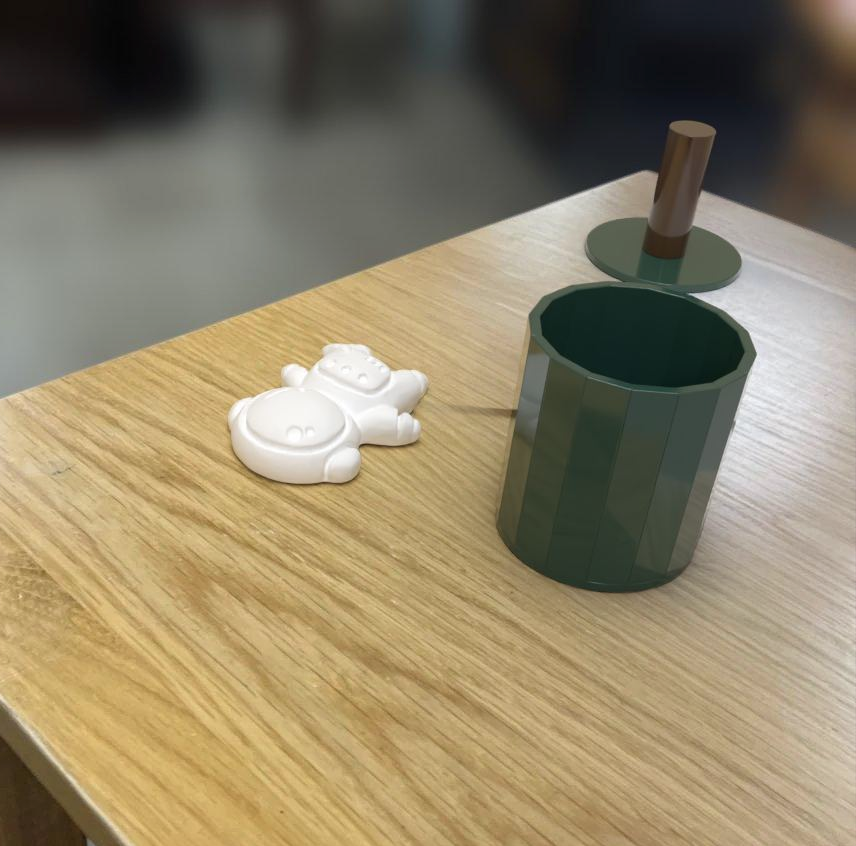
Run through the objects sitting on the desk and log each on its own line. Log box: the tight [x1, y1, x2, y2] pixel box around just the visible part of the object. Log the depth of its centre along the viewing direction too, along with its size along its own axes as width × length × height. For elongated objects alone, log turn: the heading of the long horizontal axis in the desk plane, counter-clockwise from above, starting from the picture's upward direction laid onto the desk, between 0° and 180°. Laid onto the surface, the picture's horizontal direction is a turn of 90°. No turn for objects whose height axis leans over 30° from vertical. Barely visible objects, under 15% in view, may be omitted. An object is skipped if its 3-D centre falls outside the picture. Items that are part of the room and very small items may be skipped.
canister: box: [495, 280, 758, 593], centre depth 55 cm, size 9×9×10 cm
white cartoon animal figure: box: [227, 342, 430, 485], centre depth 63 cm, size 9×12×3 cm
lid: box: [584, 120, 743, 293], centre depth 78 cm, size 10×10×9 cm
